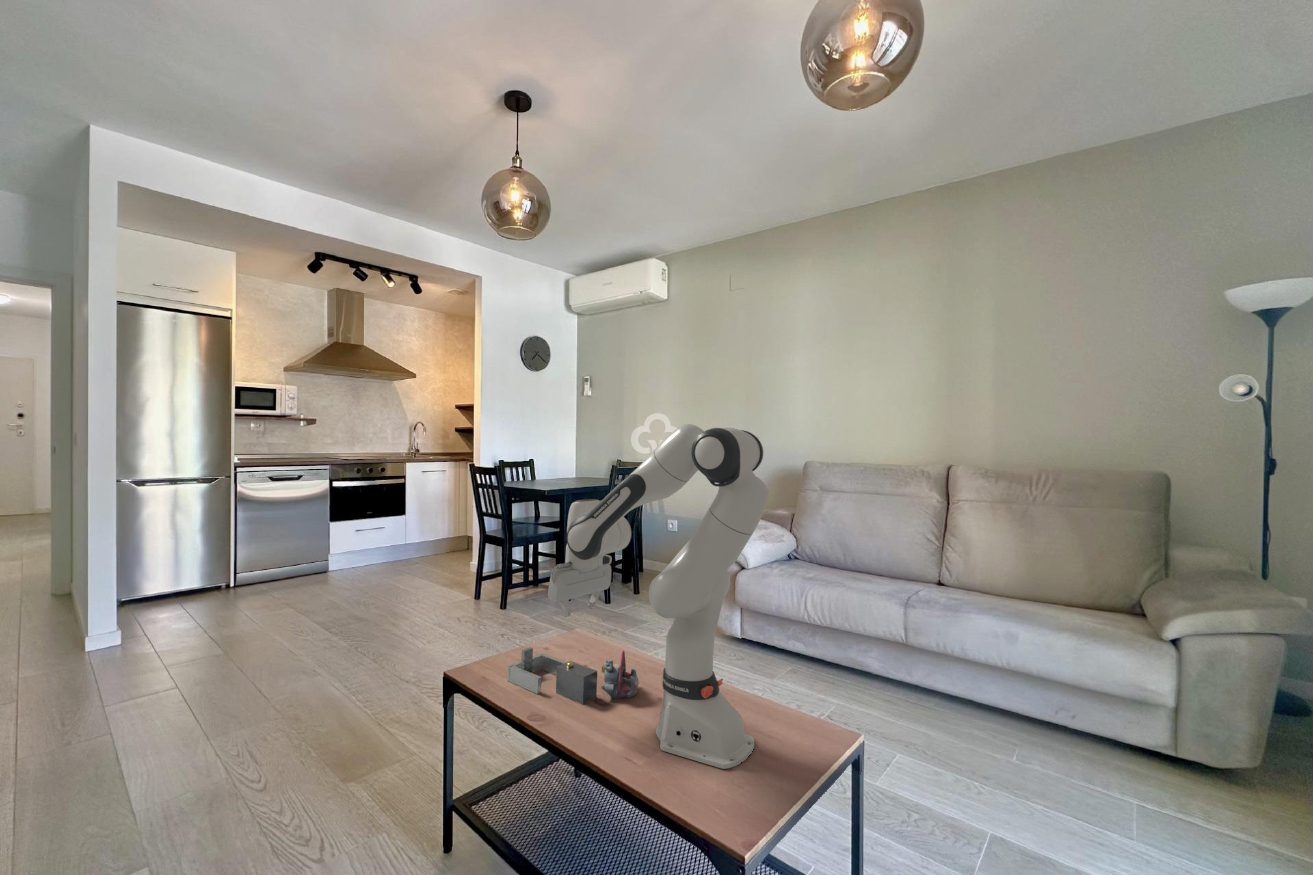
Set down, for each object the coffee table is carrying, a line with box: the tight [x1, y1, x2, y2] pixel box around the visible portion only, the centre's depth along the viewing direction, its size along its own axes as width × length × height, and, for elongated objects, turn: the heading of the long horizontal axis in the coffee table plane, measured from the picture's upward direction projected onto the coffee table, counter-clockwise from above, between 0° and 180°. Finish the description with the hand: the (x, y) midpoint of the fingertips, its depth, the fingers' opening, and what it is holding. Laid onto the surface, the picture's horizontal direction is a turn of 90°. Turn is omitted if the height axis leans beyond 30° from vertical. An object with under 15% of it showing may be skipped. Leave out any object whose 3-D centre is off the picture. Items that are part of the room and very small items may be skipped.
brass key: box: [601, 664, 627, 674], centre depth 153 cm, size 7×3×2 cm, turn 78°
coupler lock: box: [555, 660, 598, 705], centre depth 138 cm, size 10×5×8 cm, turn 53°
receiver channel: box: [506, 646, 568, 695], centre depth 147 cm, size 13×12×7 cm
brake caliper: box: [600, 650, 640, 699], centre depth 141 cm, size 11×11×12 cm
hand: (579, 611), depth 139 cm, fingers open, 8 cm apart
